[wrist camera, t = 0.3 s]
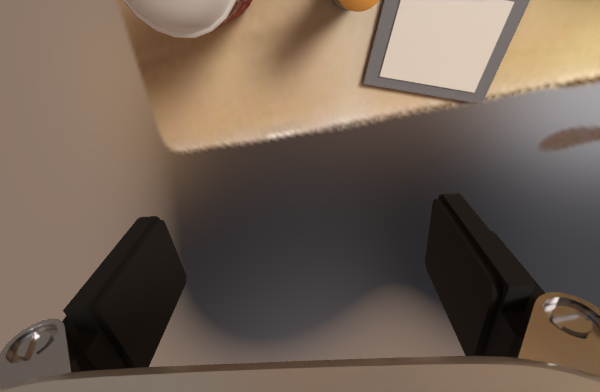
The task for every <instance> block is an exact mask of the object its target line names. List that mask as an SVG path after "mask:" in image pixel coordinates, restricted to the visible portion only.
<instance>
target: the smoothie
mask: <svg viewBox="0 0 600 392" xmlns="http://www.w3.org/2000/svg"><path fill="white" fill-rule="evenodd" d="M123 1H124V2H125V3H126V4H127V6H128V7H129V8H130V9H131V10H132V11H133V13H134V14H135V15H136V16H137V17H138V18H139V19H140V20H142V21H143V22H145V23H146V24H147V25H149V26H150V27H152V28H153V29H154V30H156V31H158V32H161V33H164V34H167V35H170V36H172V37H175V38H196V37H199V36H202V35H204V34H207V33H209V32H212V31H213V30H215V29H216V28H217V27H218V26H220V25H222V24H224V23H225V22H227V21H229V20H230V19H232V18H234V17H236V16H237V15H239V14H241V13H242V12H243V11H244V10H245V9H246V8H247V7H248V6H249V5H250V3H251V1H252V0H123Z"/></svg>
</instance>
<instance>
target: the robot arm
mask: <svg viewBox="0 0 600 392" xmlns="http://www.w3.org/2000/svg"><path fill="white" fill-rule="evenodd" d="M425 265H426V269H427V272H428V274H429V276H430V278H431V280H432V283H433V285H434V287H435V289H436V291H437V294H438V296H439V298H440V300H441V302H442V305H443V307H444V309H445V311H446V313H447V315H448V318H449V320H450V322H451V324H452V326H453V329H454V331H455V333H456V335H457V337H458V340H459V342H460V344H461V346H462V348H463V351H464V353H465V355H466V356H442V357H441V356H440V357H439V356H438V357H398V358H367V359H341V360H340V359H339V360H338V359H337V360H312V361H311V360H309V361H285V362H259V363H236V364H211V365H210V364H209V365H190V366H189V365H187V366H165V367H149V365H150V363H151V360H152V358H153V356H154V354H155V351H156V349H157V347H158V345H159V342H160V340H161V338H162V336H163V334H164V331H165V329H166V327H167V325H168V322H169V320H170V318H171V315H172V313H173V311H174V309H175V307H176V304H177V302H178V300H179V298H180V295H181V293H182V291H183V289H184V287H185V284H186V273H185V271H184V269H183V266H182V264H181V262H180V259H179V256H178V254H177V251H176V249H175V246H174V244H173V241H172V239H171V236H170V234H169V231H168V229H167V226H166V224H165V222H164V221H163V220H160V219H159V218H158V217H157V216H151V217H140V218H138V219H137V220H136V222H135V223H134V224H133V225H132V227H131V228H130V229H129V230H128V231H127V233H126V234H125V235H124V236H123V238H122V239H121V240H120V241H119V243H118V244H117V245H116V246H115V247H114V249H113V250H112V251H111V252H110V254H109V255H108V256H107V257H106V259H105V260H104V261H103V262H102V263H101V265H100V266H99V267H98V268H97V270H96V271H95V272H94V273H93V275H92V276H91V277H90V278H89V280H88V281H87V282H86V283H85V284H84V286H83V287H82V288H81V289H80V290H79V292H78V293H77V294H76V296H75V297H74V298H73V299H72V300H71V301H70V303H69V304H68V305H67V306H66V308H65V309H64V310H63V311H64V313H65V314H66V315H67V316H66V317H65V319H64V320H63V321H61V320H59V319H48V320H43V321H40V322H38V323H36V324H33V325H31V326H30V327H28V328H26V329H24V330H23V331H21V332H20V333H18V334H17V335H16V336H15V337H13V338H12V340H10V341H9V342H8V343H7V344H6V346H5V347H4V348H3V350H2V351H1V353H0V392H600V309H599V308H597V307H595V306H594V305H592V304H591V303H589V302H587V301H585V300H583V299H580V298H578V297H575V296H572V295H569V294H565V293H556V292H554V293H545V292H544V291H543V290H542V289H541V287H540V286H539V285H538V284H537V283H536V281H535V280H534V279H533V278H532V277H531V275H530V274H529V273H528V272H527V271H526V269H525V268H524V267H523V266H522V265H521V263H520V262H519V261H518V260H517V259H516V258H515V256H514V255H513V254H512V253H511V252H510V250H509V249H508V248H507V247H506V246H505V244H504V243H503V242H502V241H501V240H500V238H499V237H498V236H497V235H496V234H495V233H494V232H493V231H490V230H489V228H488V227H487V226H486V225H485V223H484V222H483V221H482V220H481V219H480V217H479V216H478V215H477V214H476V212H475V211H474V210H473V209H472V208H471V206H470V205H469V204H468V203H467V202H466V200H465V199H464V198H463V197H462V196H461V194H459V193H452V194H441V195H439V197H438V199H434V201H433V205H432V212H431V220H430V227H429V235H428V242H427V250H426V257H425Z"/></svg>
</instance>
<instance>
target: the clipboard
mask: <svg viewBox="0 0 600 392" xmlns="http://www.w3.org/2000/svg"><path fill="white" fill-rule="evenodd" d="M529 1H530V0H384V1H383V5H382V9H381V13H380V17H379V20H378V24H377V28H376V32H375V36H374V40H373V44H372V48H371V52H370V56H369V60H368V64H367V68H366V72H365V76H364V80H363V84H367V85H372V86H378V87H384V88H390V89H396V90H402V91H408V92H414V93H419V94H425V95H431V96H437V97H443V98H449V99H455V100H461V101H466V102H472V103H478V104H482V102H483V100H484V98H485V96H486V94H487V92H488V89H489V87H490V85H491V83H492V81H493V79H494V77H495V74H496V72H497V70H498V68H499V66H500V64H501V61H502V59H503V57H504V55H505V53H506V51H507V48H508V46H509V44H510V42H511V40H512V38H513V36H514V33H515V31H516V29H517V27H518V25H519V23H520V20H521V18H522V16H523V14H524V12H525V10H526V8H527V5H528V3H529Z"/></svg>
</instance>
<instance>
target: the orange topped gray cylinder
mask: <svg viewBox="0 0 600 392" xmlns="http://www.w3.org/2000/svg"><path fill="white" fill-rule="evenodd" d="M378 1H379V0H332V2H333V3H334V4H335V5H336V6H338V7H340V8H346V9H348V10H351V11H357V12H359V11H365V10H368V9H370V8H371V7H373V6H374V5H375V4H376V3H377V2H378Z"/></svg>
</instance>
